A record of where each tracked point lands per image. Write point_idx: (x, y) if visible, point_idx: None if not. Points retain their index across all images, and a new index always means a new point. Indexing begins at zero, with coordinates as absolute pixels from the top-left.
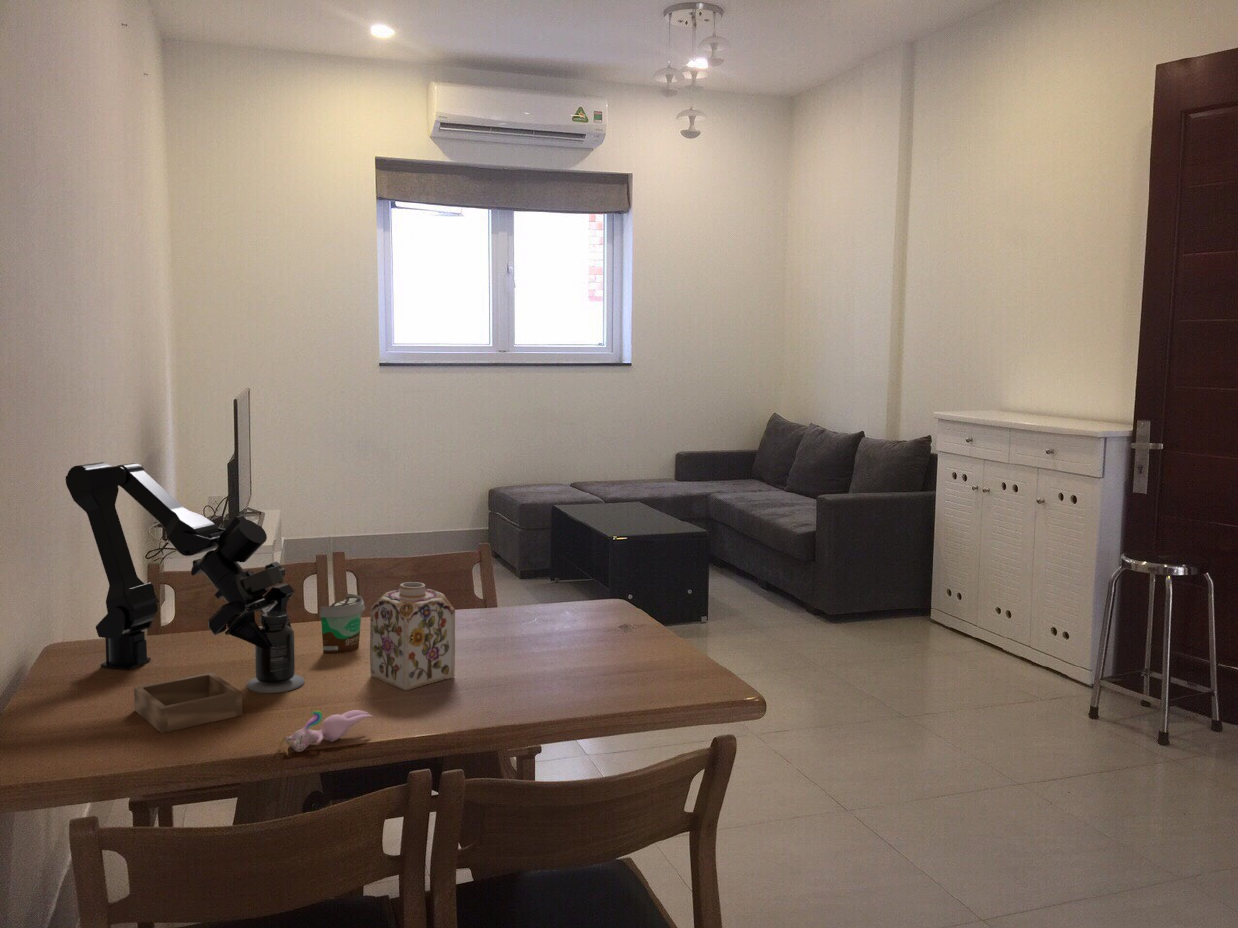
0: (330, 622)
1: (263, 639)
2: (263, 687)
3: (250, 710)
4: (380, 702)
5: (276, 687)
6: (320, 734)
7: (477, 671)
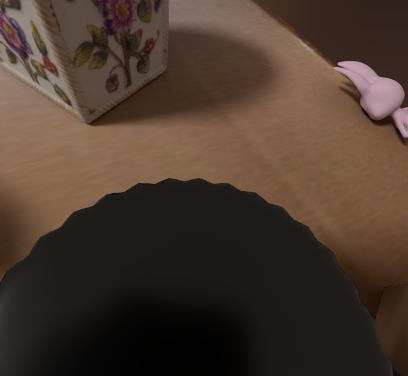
0: None
1: None
2: None
3: (355, 283)
4: (225, 91)
5: None
6: (405, 110)
7: None
